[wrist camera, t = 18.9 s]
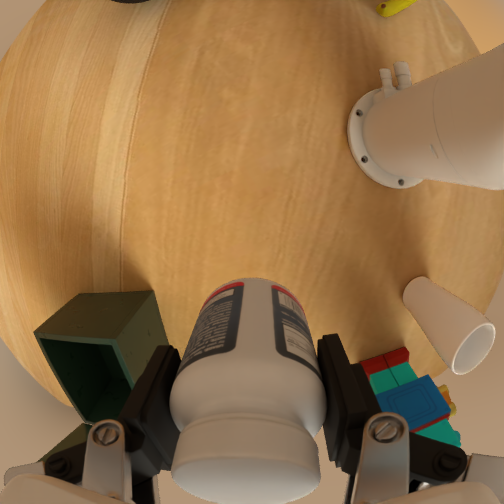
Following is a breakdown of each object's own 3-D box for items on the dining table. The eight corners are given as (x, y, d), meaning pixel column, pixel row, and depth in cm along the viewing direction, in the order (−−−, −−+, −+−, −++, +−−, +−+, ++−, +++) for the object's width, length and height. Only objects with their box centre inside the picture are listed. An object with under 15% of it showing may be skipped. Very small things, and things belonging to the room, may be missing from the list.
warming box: (78, 293, 36) (32, 331, 25) (153, 290, 35) (115, 339, 24) (112, 377, 41) (84, 422, 29) (181, 382, 40) (163, 438, 28)
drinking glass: (399, 272, 33) (462, 329, 19) (437, 267, 33) (503, 316, 19) (393, 316, 35) (443, 382, 21) (430, 309, 35) (484, 366, 20)
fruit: (375, 26, 24) (389, 11, 19) (363, 16, 23) (376, -1, 18) (412, 6, 21) (427, -8, 17) (402, -4, 21) (416, -18, 16)
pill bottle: (200, 356, 14) (158, 499, 6) (202, 269, 13) (122, 418, 4) (296, 365, 14) (314, 512, 6) (314, 280, 13) (376, 438, 4)
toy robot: (349, 387, 39) (390, 518, 15) (347, 362, 38) (398, 506, 14) (411, 366, 38) (474, 477, 14) (414, 339, 36) (492, 456, 13)
